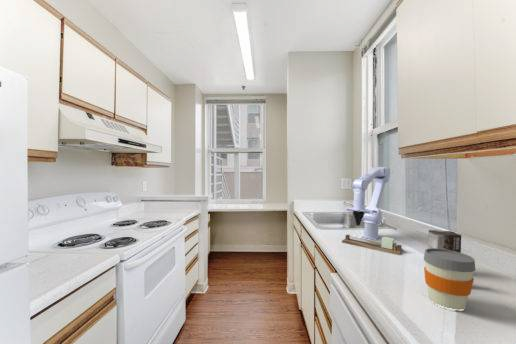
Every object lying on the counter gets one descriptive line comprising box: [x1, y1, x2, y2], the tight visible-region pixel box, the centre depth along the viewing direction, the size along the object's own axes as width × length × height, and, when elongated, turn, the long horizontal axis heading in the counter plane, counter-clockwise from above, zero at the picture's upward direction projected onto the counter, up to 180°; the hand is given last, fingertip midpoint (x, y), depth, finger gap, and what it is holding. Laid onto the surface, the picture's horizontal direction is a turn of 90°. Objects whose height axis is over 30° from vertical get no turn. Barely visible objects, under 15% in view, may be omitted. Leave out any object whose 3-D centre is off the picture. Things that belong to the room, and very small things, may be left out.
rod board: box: [341, 234, 404, 256], centre depth 131 cm, size 9×28×4 cm, turn 51°
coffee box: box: [427, 229, 462, 253], centre depth 100 cm, size 9×6×16 cm
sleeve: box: [381, 236, 395, 249], centre depth 126 cm, size 4×5×4 cm
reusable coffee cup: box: [423, 248, 476, 310], centre depth 76 cm, size 13×13×15 cm
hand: (358, 225), depth 138 cm, fingers closed
